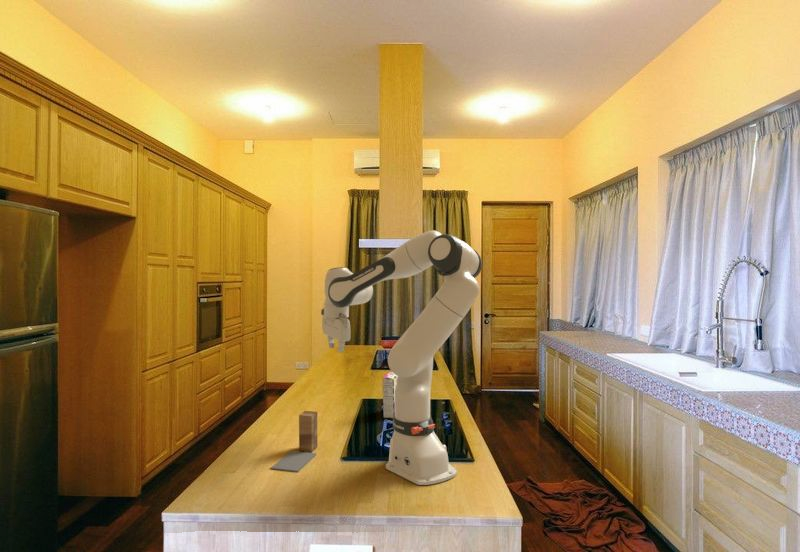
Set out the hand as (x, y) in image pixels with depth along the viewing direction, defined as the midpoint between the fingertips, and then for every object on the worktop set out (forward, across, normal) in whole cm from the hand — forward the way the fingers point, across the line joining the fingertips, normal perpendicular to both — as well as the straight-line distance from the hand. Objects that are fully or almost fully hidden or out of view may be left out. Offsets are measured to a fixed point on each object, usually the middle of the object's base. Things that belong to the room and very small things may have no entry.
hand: (335, 350), depth 161 cm
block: (+31, -9, +12) cm, 34 cm away
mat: (+31, -16, +19) cm, 40 cm away
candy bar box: (+31, +11, -29) cm, 44 cm away
